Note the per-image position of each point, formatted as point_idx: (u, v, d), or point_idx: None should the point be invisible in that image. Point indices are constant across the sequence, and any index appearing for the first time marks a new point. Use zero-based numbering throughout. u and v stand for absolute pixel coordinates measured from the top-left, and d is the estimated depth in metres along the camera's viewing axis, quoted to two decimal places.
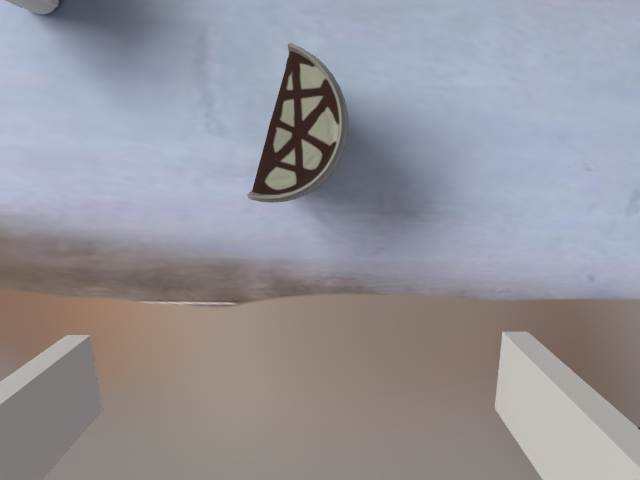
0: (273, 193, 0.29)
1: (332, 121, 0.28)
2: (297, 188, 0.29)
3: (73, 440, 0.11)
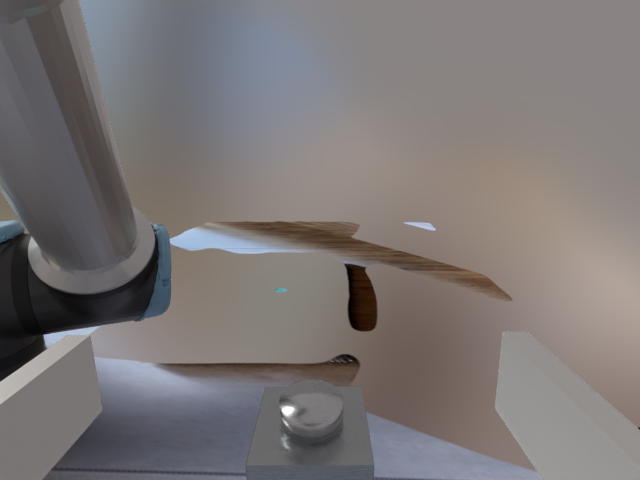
0: None
1: None
2: None
3: (73, 440, 0.11)
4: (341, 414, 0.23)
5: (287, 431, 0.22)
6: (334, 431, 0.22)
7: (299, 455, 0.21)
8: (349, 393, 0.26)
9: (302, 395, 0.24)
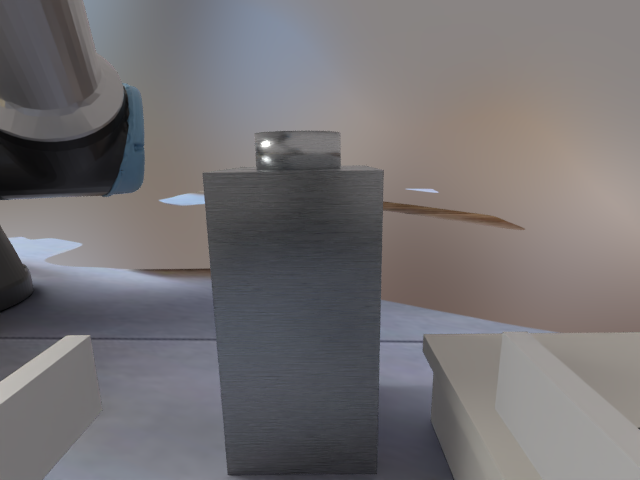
0: None
1: None
2: None
3: (73, 440, 0.11)
4: (338, 146, 0.17)
5: (264, 160, 0.16)
6: (328, 160, 0.16)
7: None
8: None
9: None
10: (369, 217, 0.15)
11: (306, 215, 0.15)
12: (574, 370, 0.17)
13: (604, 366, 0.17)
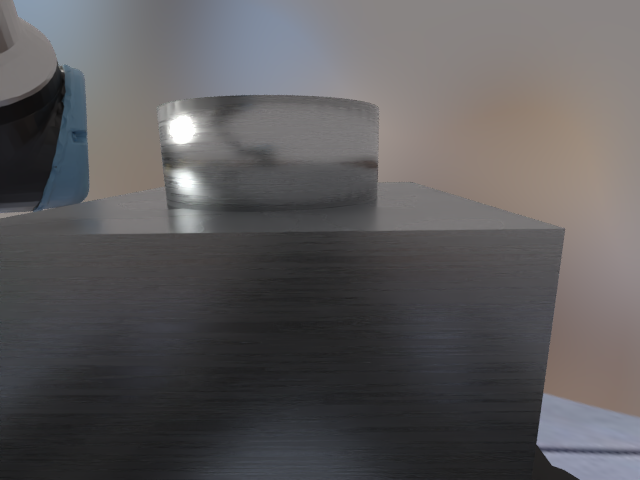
0: None
1: None
2: None
3: None
4: (374, 142, 0.06)
5: (174, 182, 0.06)
6: (351, 182, 0.06)
7: (199, 221, 0.05)
8: (384, 184, 0.10)
9: None
10: (499, 383, 0.04)
11: (282, 377, 0.04)
12: None
13: None
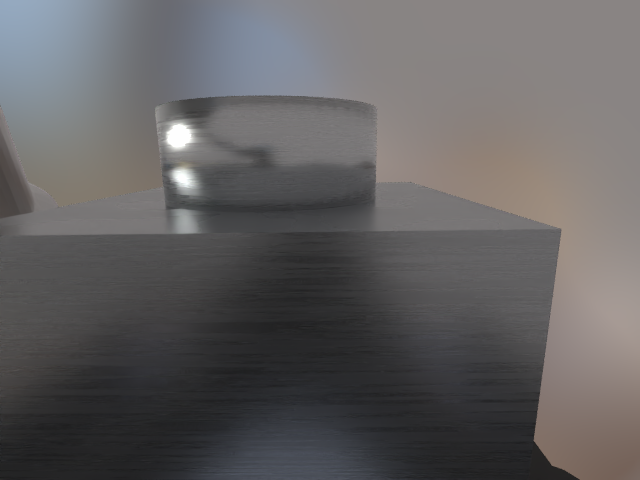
0: None
1: None
2: None
3: None
4: (372, 143, 0.06)
5: (172, 182, 0.06)
6: (349, 182, 0.06)
7: (196, 222, 0.05)
8: (382, 184, 0.10)
9: None
10: (496, 383, 0.04)
11: (279, 377, 0.04)
12: None
13: None
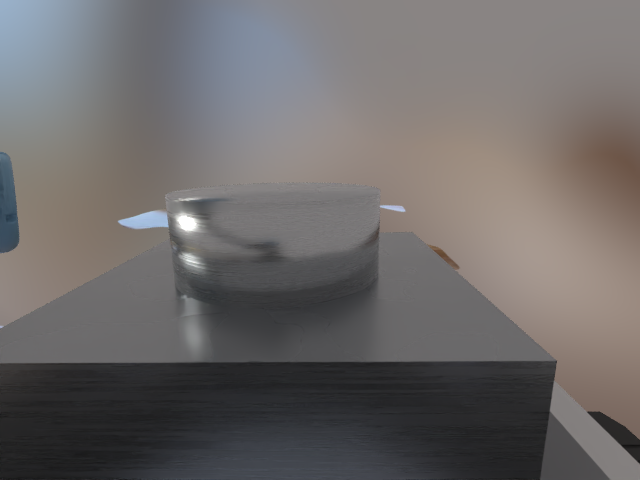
0: None
1: None
2: None
3: None
4: (375, 226, 0.07)
5: (182, 272, 0.06)
6: (353, 272, 0.06)
7: (207, 334, 0.05)
8: (385, 238, 0.10)
9: (249, 188, 0.07)
10: None
11: None
12: None
13: None
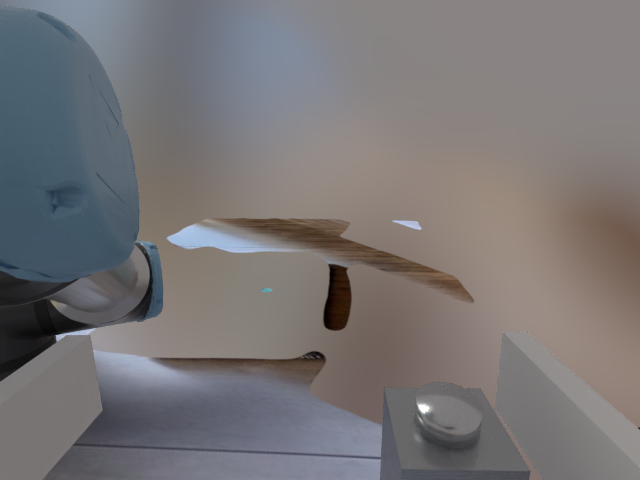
0: None
1: None
2: None
3: (73, 440, 0.11)
4: None
5: (430, 434, 0.22)
6: (477, 435, 0.22)
7: (451, 459, 0.21)
8: None
9: (438, 398, 0.24)
10: None
11: None
12: None
13: None
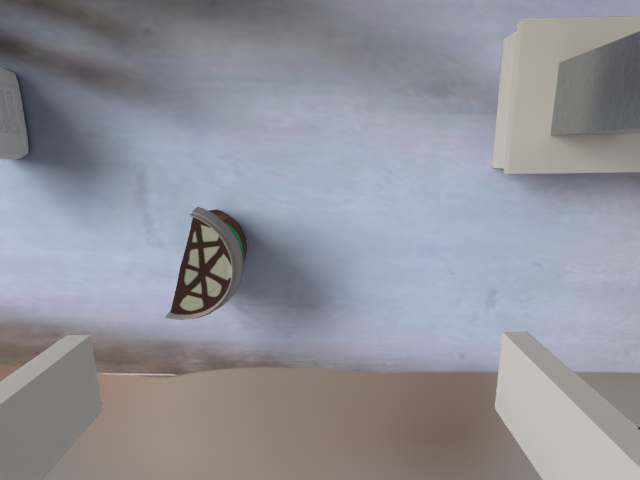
0: (186, 313, 0.39)
1: (227, 263, 0.38)
2: (204, 310, 0.39)
3: (73, 440, 0.11)
4: None
5: None
6: None
7: None
8: None
9: None
10: None
11: None
12: None
13: None
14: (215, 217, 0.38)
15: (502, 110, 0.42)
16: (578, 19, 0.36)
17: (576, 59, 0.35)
